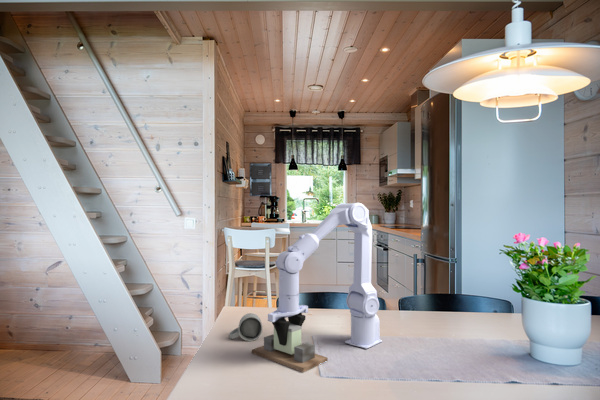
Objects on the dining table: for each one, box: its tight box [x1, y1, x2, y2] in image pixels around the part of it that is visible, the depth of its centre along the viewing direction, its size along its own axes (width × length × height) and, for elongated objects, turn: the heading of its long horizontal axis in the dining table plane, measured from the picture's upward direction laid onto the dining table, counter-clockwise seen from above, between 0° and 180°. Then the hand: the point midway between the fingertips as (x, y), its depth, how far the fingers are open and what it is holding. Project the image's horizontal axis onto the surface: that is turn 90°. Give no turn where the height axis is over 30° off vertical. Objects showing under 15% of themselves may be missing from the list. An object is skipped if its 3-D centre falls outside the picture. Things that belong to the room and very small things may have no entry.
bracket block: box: [273, 323, 302, 355], centre depth 109 cm, size 4×7×7 cm, turn 48°
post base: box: [251, 333, 328, 373], centre depth 109 cm, size 10×20×4 cm, turn 48°
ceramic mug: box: [228, 312, 263, 342], centre depth 126 cm, size 11×8×8 cm
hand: (288, 342), depth 109 cm, fingers closed on bracket block, 4 cm apart
